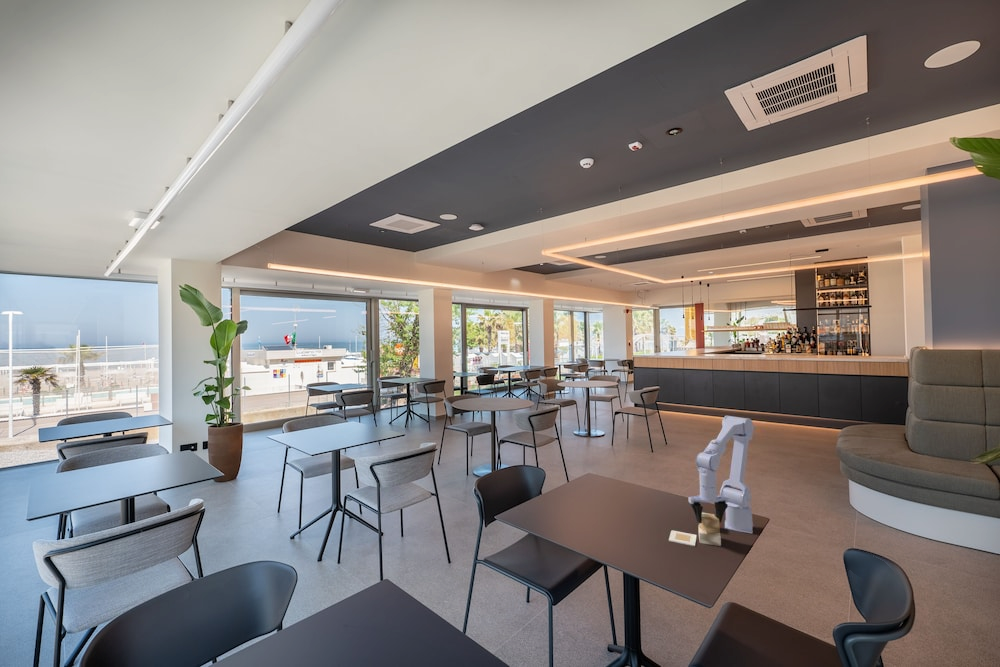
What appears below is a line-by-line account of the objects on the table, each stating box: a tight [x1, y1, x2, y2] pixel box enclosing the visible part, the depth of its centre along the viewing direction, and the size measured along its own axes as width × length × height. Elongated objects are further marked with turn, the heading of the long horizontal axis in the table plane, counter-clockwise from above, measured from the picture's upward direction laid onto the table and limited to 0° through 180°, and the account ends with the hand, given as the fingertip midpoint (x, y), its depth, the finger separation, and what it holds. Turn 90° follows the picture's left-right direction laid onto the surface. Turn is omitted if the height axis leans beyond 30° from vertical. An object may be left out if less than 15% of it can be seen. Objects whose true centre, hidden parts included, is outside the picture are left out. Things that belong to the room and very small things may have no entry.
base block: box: [697, 524, 722, 547], centre depth 155 cm, size 7×7×4 cm
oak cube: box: [698, 513, 721, 534], centre depth 155 cm, size 5×5×5 cm
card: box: [668, 530, 697, 547], centre depth 156 cm, size 9×9×1 cm
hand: (709, 521), depth 155 cm, fingers open, 7 cm apart
